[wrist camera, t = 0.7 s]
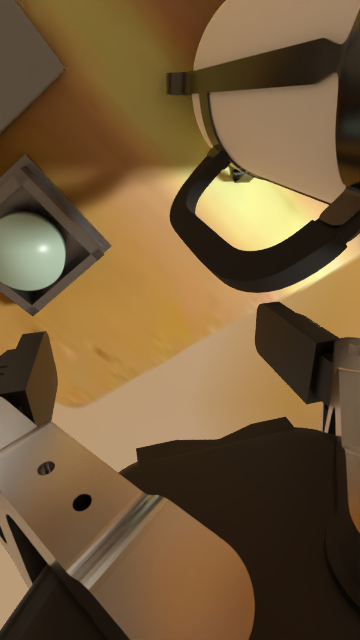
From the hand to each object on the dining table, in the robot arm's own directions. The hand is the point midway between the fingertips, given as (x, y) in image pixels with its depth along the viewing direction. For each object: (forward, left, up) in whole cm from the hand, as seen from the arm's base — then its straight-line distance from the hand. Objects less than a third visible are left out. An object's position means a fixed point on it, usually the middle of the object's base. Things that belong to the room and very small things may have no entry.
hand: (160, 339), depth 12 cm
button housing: (+2, -7, -21) cm, 23 cm away
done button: (+2, -7, -19) cm, 20 cm away
